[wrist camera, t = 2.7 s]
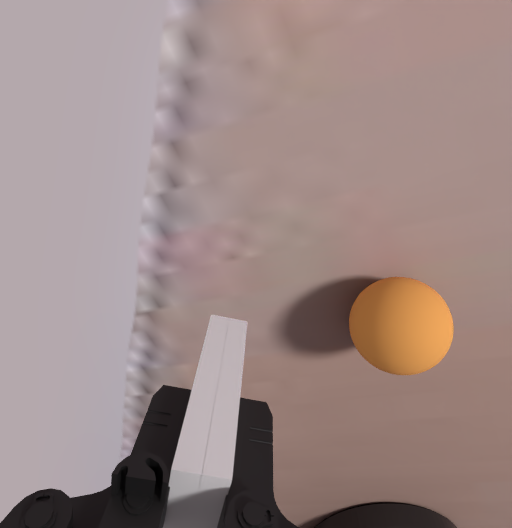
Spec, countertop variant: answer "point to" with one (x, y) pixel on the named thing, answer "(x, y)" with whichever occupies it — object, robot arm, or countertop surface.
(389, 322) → the ball
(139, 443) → the robot arm
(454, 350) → the countertop surface
